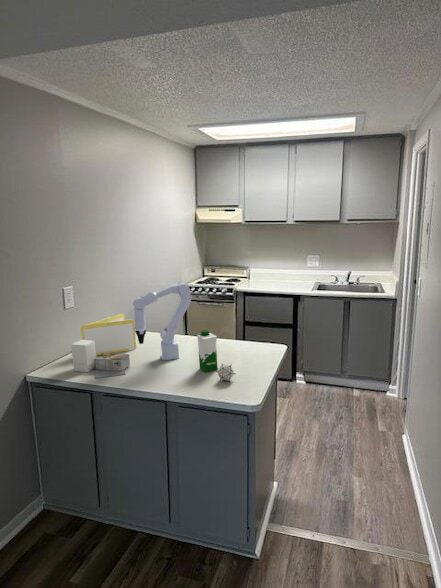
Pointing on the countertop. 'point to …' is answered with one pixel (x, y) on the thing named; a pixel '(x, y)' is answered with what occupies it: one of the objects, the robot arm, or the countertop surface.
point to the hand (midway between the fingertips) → (141, 343)
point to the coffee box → (112, 362)
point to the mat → (108, 373)
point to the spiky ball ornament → (225, 372)
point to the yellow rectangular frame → (111, 334)
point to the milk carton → (207, 351)
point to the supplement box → (83, 355)
